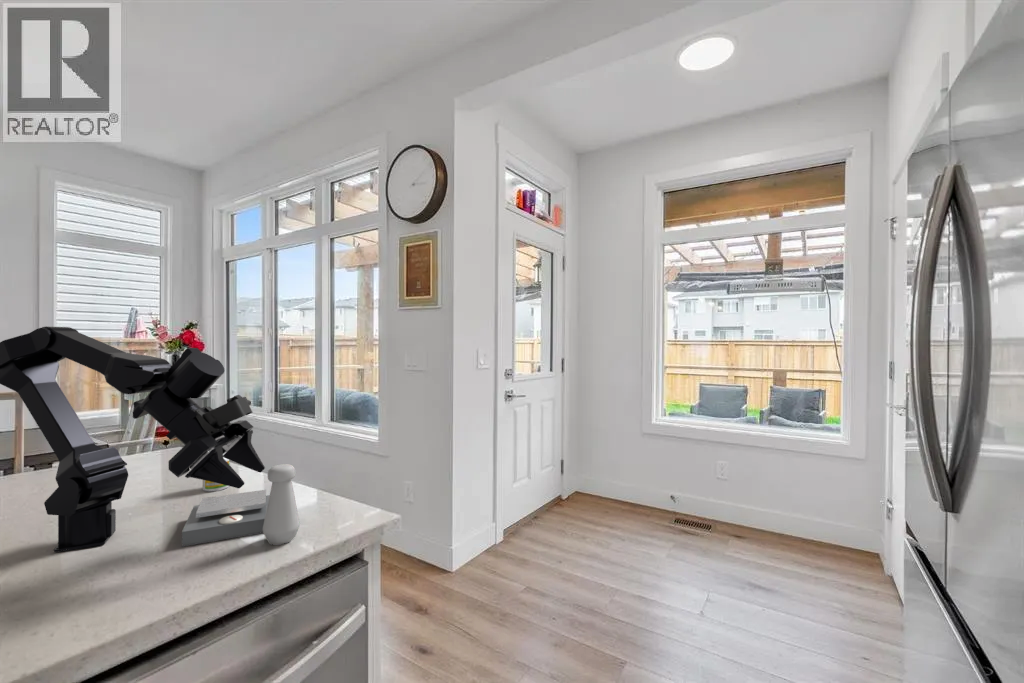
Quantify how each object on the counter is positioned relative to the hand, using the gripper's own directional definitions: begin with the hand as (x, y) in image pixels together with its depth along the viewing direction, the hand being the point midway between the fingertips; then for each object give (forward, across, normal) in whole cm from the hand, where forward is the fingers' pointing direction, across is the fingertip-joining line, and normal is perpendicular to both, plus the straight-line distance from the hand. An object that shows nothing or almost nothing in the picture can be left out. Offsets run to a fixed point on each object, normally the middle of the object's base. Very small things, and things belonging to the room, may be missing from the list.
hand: (253, 477), depth 79 cm
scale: (+3, +9, +13) cm, 16 cm away
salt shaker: (+11, 0, +5) cm, 12 cm away
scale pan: (0, +10, +11) cm, 15 cm away
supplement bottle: (-6, +33, +22) cm, 40 cm away
